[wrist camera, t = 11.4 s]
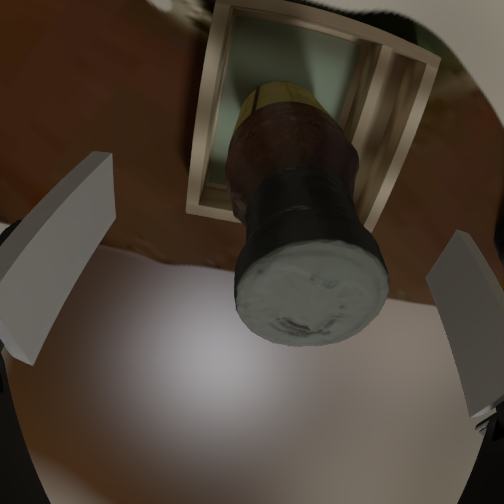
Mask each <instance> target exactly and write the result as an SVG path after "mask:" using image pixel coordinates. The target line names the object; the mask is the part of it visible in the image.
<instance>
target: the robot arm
mask: <svg viewBox="0 0 504 504" xmlns="http://www.w3.org/2000/svg"><path fill="white" fill-rule="evenodd" d="M115 219H116V213H115V201H114V186H113V165H112V153H106V152H97V151H93V152H92V153H91V154H90V155H89V156H87V157H86V158H85V159H84V160H83V161H82V162H81V163H79V164H78V165H77V166H76V167H75V168H74V169H73V170H72V171H71V172H70V173H69V174H67V175H66V176H65V177H64V178H63V179H62V180H61V181H60V182H59V183H58V184H57V185H56V186H55V187H54V188H53V189H52V190H51V191H50V192H49V193H48V194H47V195H46V196H45V197H44V198H43V199H42V200H41V201H40V202H39V203H38V204H37V205H36V206H35V207H34V208H33V209H32V211H31V212H30V213H29V214H28V215H27V216H26V217H25V218H24V219H23V220H18V221H16V222H15V223H13V224H12V225H10V226H9V227H8V228H6V229H5V230H4V231H3V232H2V233H1V235H0V504H51V503H50V501H49V499H48V497H47V495H46V493H45V491H44V488H43V486H42V484H41V482H40V480H39V477H38V475H37V472H36V470H35V468H34V465H33V463H32V460H31V457H30V455H29V452H28V449H27V446H26V444H25V441H24V438H23V435H22V432H21V429H20V425H19V422H18V419H17V415H16V412H15V408H14V404H13V400H12V396H11V392H10V388H9V383H8V378H7V374H6V368H5V363H4V359H3V357H2V355H1V351H2V349H3V347H4V346H5V347H6V348H7V350H8V351H9V352H10V354H11V355H12V356H13V357H15V358H17V359H19V360H21V361H23V362H26V363H28V364H30V365H32V366H33V365H34V362H35V360H36V358H37V356H38V354H39V351H40V349H41V347H42V345H43V343H44V341H45V339H46V337H47V335H48V333H49V331H50V329H51V327H52V325H53V323H54V320H55V319H56V317H57V315H58V313H59V311H60V309H61V307H62V306H63V304H64V302H65V300H66V298H67V296H68V294H69V293H70V291H71V289H72V287H73V286H74V284H75V282H76V280H77V279H78V277H79V275H80V274H81V272H82V270H83V268H84V267H85V265H86V264H87V262H88V260H89V259H90V257H91V255H92V254H93V252H94V251H95V249H96V247H97V246H98V244H99V243H100V241H101V240H102V238H103V237H104V235H105V233H106V232H107V230H108V229H109V227H110V226H111V224H112V223H113V221H114V220H115ZM425 279H426V282H427V284H428V286H429V289H430V291H431V294H432V296H433V299H434V302H435V304H436V307H437V309H438V312H439V314H440V317H441V320H442V323H443V326H444V329H445V331H446V335H447V337H448V340H449V343H450V347H451V350H452V353H453V356H454V359H455V363H456V366H457V369H458V373H459V376H460V380H461V384H462V388H463V391H464V395H465V399H466V403H467V408H468V412H469V417H470V418H471V417H477V416H482V415H484V414H486V413H487V412H489V411H490V410H492V409H493V408H494V407H496V411H497V412H496V413H494V414H493V415H491V416H490V417H488V418H487V419H485V420H483V421H482V422H480V423H479V424H477V426H476V428H475V429H476V430H477V429H479V428H481V427H483V426H484V425H486V427H485V428H483V429H481V430H480V431H479V433H481V434H482V435H483V436H484V439H483V442H482V445H481V448H480V450H479V453H478V456H477V459H476V461H475V464H474V467H473V469H472V472H471V474H470V477H469V479H468V481H467V484H466V486H465V489H464V491H463V493H462V495H461V497H460V499H459V501H458V503H457V504H504V292H503V290H502V288H501V286H500V284H499V282H498V281H497V279H496V277H495V275H494V273H493V272H492V270H491V268H490V267H489V265H488V263H487V262H486V260H485V258H484V257H483V255H482V253H481V252H480V250H479V249H478V247H477V245H476V244H475V242H474V241H473V239H472V238H471V236H470V235H469V233H466V232H463V231H460V230H456V231H455V233H454V235H453V236H452V238H451V239H450V241H449V243H448V244H447V246H446V247H445V249H444V250H443V252H442V254H441V255H440V257H439V258H438V260H437V261H436V263H435V264H434V266H433V267H432V269H431V270H430V271H429V273H428V274H427V276H426V277H425Z"/></svg>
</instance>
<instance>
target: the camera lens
mask: <svg viewBox="0 0 504 504" xmlns="http://www.w3.org/2000/svg"><path fill="white" fill-rule="evenodd" d="M494 244H495V248H496V250H497V251H498V256H499V259H500V261H501V262H502V265H503V267H504V220H503V221H502V222H501V224H500V225H499V227H498V229H497V231H496V234H495V239H494Z"/></svg>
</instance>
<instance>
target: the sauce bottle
mask: <svg viewBox="0 0 504 504" xmlns="http://www.w3.org/2000/svg"><path fill="white" fill-rule="evenodd" d="M358 170H359V156H358V153H357V150H356V149H355V148H354V146H353V145H352V144H351V142H350V141H349V140H348V139H347V137H346V136H345V134H344V132H343V130H342V129H341V127H340V126H339V124H338V123H337V122H336V121H335V120H334V119H333V117H332V116H331V115H330V114H329V113H328V112H327V111H326V110H325V109H324V108H323V106H322V105H321V104H320V103H319V102H318V101H317V100H316V98H315V97H314V96H313V95H312V94H311V93H310V92H309V91H308V90H307V89H305V88H303V87H301V86H299V85H297V84H294V83H291V82H288V81H278V82H271V83H267V84H264V85H262V86H259V87H257V88H256V89H255V90H254V91H253V92H252V93H251V94H250V95H249V96H248V97H247V98H246V100H245V101H244V103H243V105H242V107H241V110H240V113H239V116H238V119H237V122H236V125H235V128H234V131H233V134H232V137H231V141H230V144H229V148H228V156H227V160H226V165H225V181H226V184H227V191H228V195H229V197H230V199H231V202H232V208H233V215H234V217H235V218H237V219H238V220H239V221H240V222H241V223H242V224H243V225H244V226H245V227H246V244H245V246H244V247H243V249H242V250H241V252H240V254H239V256H238V260H237V263H236V267H235V279H234V283H235V284H234V297H235V303H236V310H237V312H238V314H239V316H240V318H241V320H242V321H243V322H244V323H245V324H246V325H247V327H248V328H249V329H250V330H251V331H252V332H254V333H255V334H257V335H258V336H260V337H262V338H264V339H266V340H269V341H271V342H273V343H277V344H283V345H288V346H299V347H301V346H322V345H326V344H332V343H338V342H341V341H343V340H345V339H348V338H350V337H352V336H354V335H356V334H357V333H359V332H360V331H361V330H363V329H364V328H365V327H366V326H367V325H368V324H369V323H370V322H371V321H372V320H373V319H374V318H375V317H376V316H377V315H378V314H379V312H380V310H381V308H382V307H383V305H384V303H385V301H386V298H387V295H388V291H389V279H388V271H387V268H386V266H385V263H384V260H383V257H382V255H381V252H380V249H379V246H378V244H377V242H376V240H375V239H374V238H373V236H372V234H371V233H370V231H368V230H367V229H366V228H365V227H364V226H363V225H362V223H360V221H359V218H358V216H357V214H356V208H355V204H354V201H353V197H354V187H355V180H356V175H357V172H358Z"/></svg>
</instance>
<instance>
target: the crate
mask: <svg viewBox="0 0 504 504" xmlns="http://www.w3.org/2000/svg"><path fill="white" fill-rule="evenodd" d="M440 61H441V58H440V57H438V56H437V55H435V54H433V53H431V52H429V51H427V50H425V49H423V48H421V47H419V46H417V45H415V44H413V43H410V42H408V41H406V40H404V39H402V38H399V37H397V36H395V35H393V34H390V33H388V32H385V31H383V30H380V29H378V28H375V27H373V26H370V25H367V24H365V23H362V22H359V21H356V20H353V19H350V18H347V17H344V16H341V15H338V14H335V13H331V12H328V11H325V10H321V9H317V8H314V7H310V6H306V5H302V4H298V3H293V2H289V1H284V0H216V2H215V7H214V12H213V17H212V22H211V27H210V32H209V38H208V43H207V49H206V54H205V60H204V66H203V72H202V79H201V85H200V92H199V99H198V106H197V113H196V120H195V128H194V136H193V144H192V153H191V162H190V172H189V182H188V192H187V204H186V213H189V214H194V215H200V216H205V217H211V218H216V219H222V220H227V221H232V222H238V223H241V222H240V221H239V220H238V219H237V218H235V217H234V215H233V208H232V202H231V199H230V197H229V195H228V191H227V184H226V181H225V165H226V160H227V156H228V148H229V144H230V141H231V137H232V134H233V131H234V128H235V125H236V122H237V119H238V116H239V113H240V110H241V107H242V105H243V103H244V101H245V100H246V98H247V97H248V96H249V95H250V94H251V93H252V92H253V91H254V90H255V89H256V88H257V87H259V86H262V85H264V84H267V83H271V82H278V81H288V82H291V83H294V84H297V85H299V86H301V87H303V88H305V89H307V90H308V91H309V92H310V93H311V94H312V95H313V96H314V97H315V98H316V100H317V101H318V102H319V103H320V104H321V105H322V106H323V108H324V109H325V110H326V111H327V112H328V113H329V114H330V115H331V116H332V117H333V119H334V120H335V121H336V122H337V123H338V124H339V126H340V127H341V129H342V130H343V132H344V134H345V136H346V137H347V139H348V140H349V141H350V142H351V144H352V145H353V146H354V148H355V149H356V150H357V153H358V156H359V170H358V172H357V175H356V180H355V187H354V197H353V201H354V204H355V208H356V214H357V216H358V218H359V221H360V223H362V225H363V226H364V227H365V228H366V229H367V230H368V231H370V233H372V231H373V229H374V227H375V225H376V223H377V221H378V219H379V216H380V214H381V212H382V210H383V208H384V206H385V204H386V201H387V199H388V197H389V195H390V193H391V190H392V188H393V186H394V184H395V181H396V179H397V177H398V175H399V172H400V170H401V167H402V165H403V163H404V160H405V158H406V156H407V153H408V151H409V148H410V146H411V143H412V141H413V138H414V136H415V133H416V130H417V128H418V125H419V122H420V120H421V117H422V114H423V112H424V109H425V106H426V103H427V100H428V98H429V95H430V92H431V89H432V86H433V83H434V80H435V77H436V73H437V70H438V67H439V64H440Z"/></svg>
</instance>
